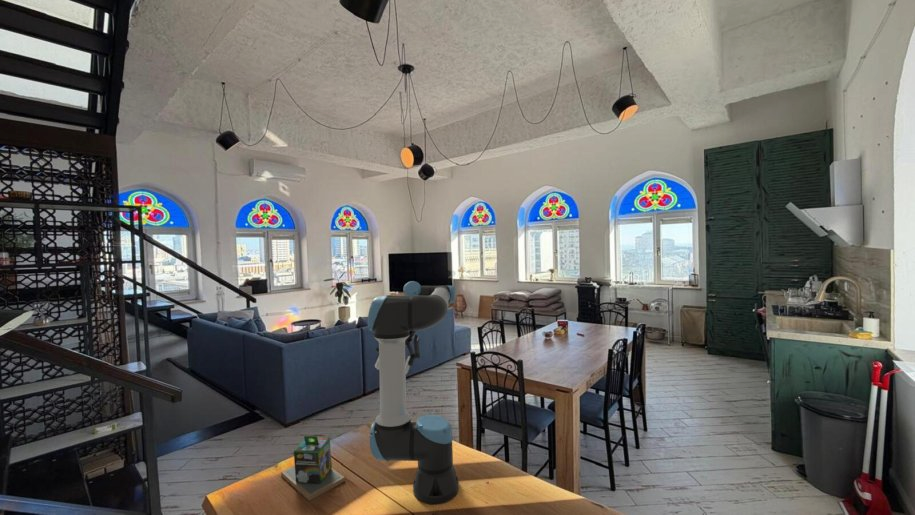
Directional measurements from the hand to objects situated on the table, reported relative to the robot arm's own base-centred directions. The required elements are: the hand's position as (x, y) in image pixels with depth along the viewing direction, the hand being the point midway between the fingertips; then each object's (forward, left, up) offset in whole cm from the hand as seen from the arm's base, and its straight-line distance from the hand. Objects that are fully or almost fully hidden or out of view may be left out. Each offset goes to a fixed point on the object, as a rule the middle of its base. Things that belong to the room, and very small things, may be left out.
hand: (390, 370), depth 157 cm
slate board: (+3, +33, -30) cm, 45 cm away
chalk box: (+2, +33, -28) cm, 44 cm away
